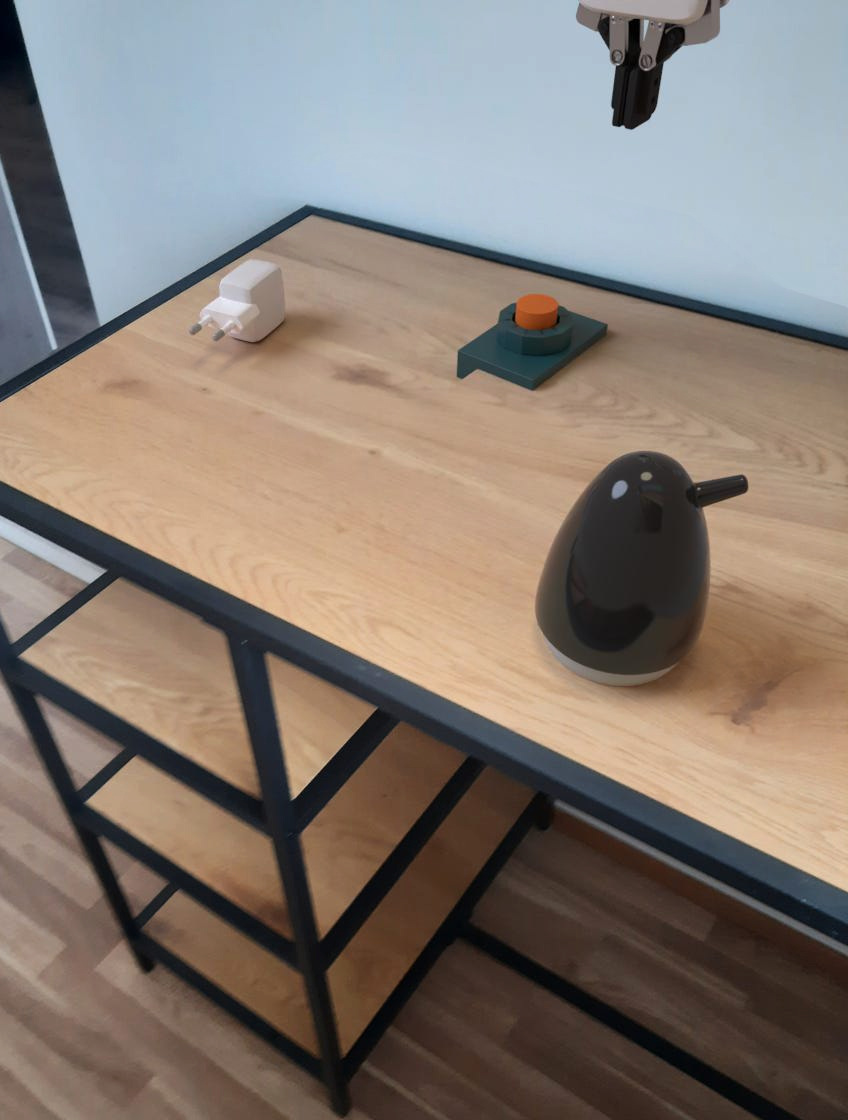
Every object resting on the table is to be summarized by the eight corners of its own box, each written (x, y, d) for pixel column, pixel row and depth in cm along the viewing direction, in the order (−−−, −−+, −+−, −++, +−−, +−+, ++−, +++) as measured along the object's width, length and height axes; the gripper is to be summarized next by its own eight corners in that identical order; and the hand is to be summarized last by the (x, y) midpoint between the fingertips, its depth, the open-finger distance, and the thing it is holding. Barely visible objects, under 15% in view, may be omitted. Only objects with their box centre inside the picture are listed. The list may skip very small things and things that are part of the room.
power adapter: (229, 375, 86) (220, 315, 81) (186, 363, 87) (175, 304, 83) (293, 320, 92) (288, 262, 88) (252, 310, 94) (245, 253, 90)
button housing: (531, 324, 90) (536, 279, 87) (603, 351, 87) (611, 305, 83) (456, 377, 84) (458, 331, 81) (530, 408, 81) (535, 361, 77)
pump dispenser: (701, 719, 57) (772, 527, 46) (529, 707, 58) (558, 516, 47) (682, 602, 64) (740, 410, 53) (528, 593, 65) (553, 403, 54)
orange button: (530, 308, 84) (531, 289, 83) (564, 320, 83) (566, 301, 81) (506, 324, 82) (508, 305, 81) (541, 336, 81) (543, 317, 80)
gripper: (821, -206, 56) (746, 126, 70) (602, -210, 63) (573, 92, 77) (766, -188, 52) (698, 158, 66) (540, -195, 60) (521, 119, 73)
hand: (631, 122), depth 71 cm, fingers closed
